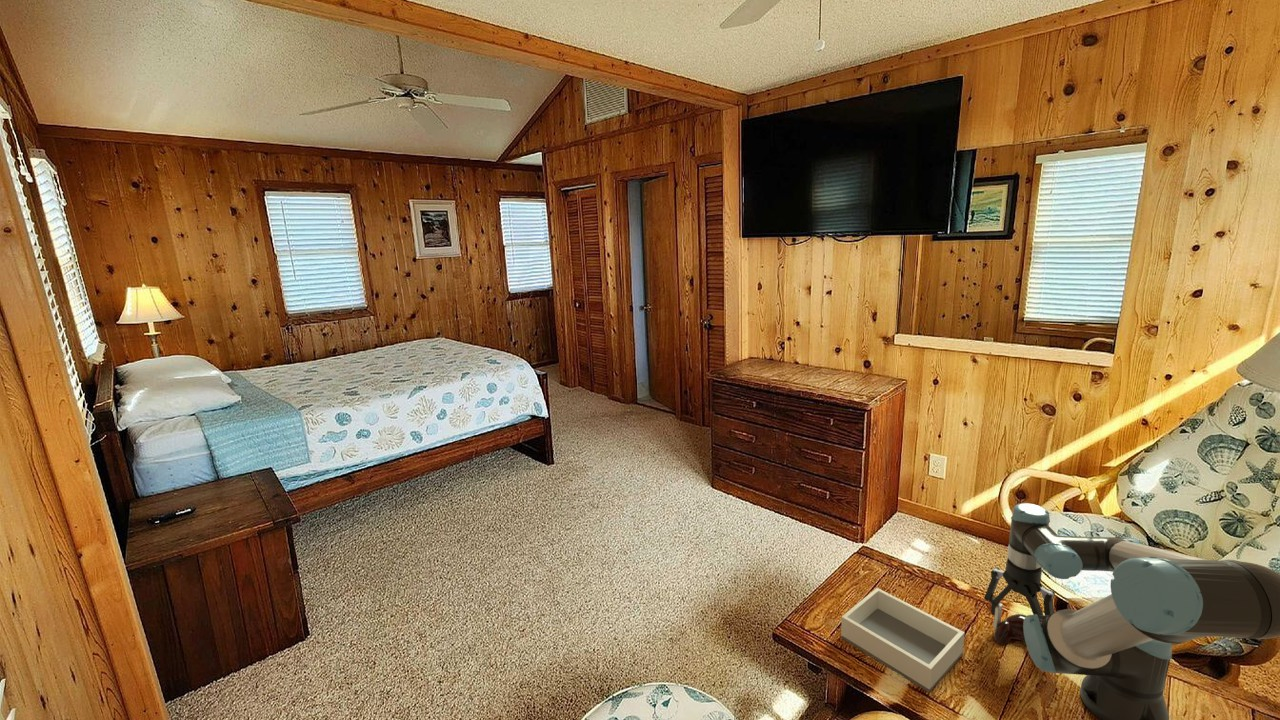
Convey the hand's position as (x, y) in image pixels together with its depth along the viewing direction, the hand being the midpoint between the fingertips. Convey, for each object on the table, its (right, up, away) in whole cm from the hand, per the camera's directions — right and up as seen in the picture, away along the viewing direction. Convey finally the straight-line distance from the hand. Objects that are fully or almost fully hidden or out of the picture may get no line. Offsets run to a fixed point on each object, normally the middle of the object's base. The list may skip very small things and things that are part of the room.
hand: (1015, 634), depth 144 cm
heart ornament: (+1, -2, +2) cm, 3 cm away
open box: (-30, -4, +1) cm, 31 cm away
